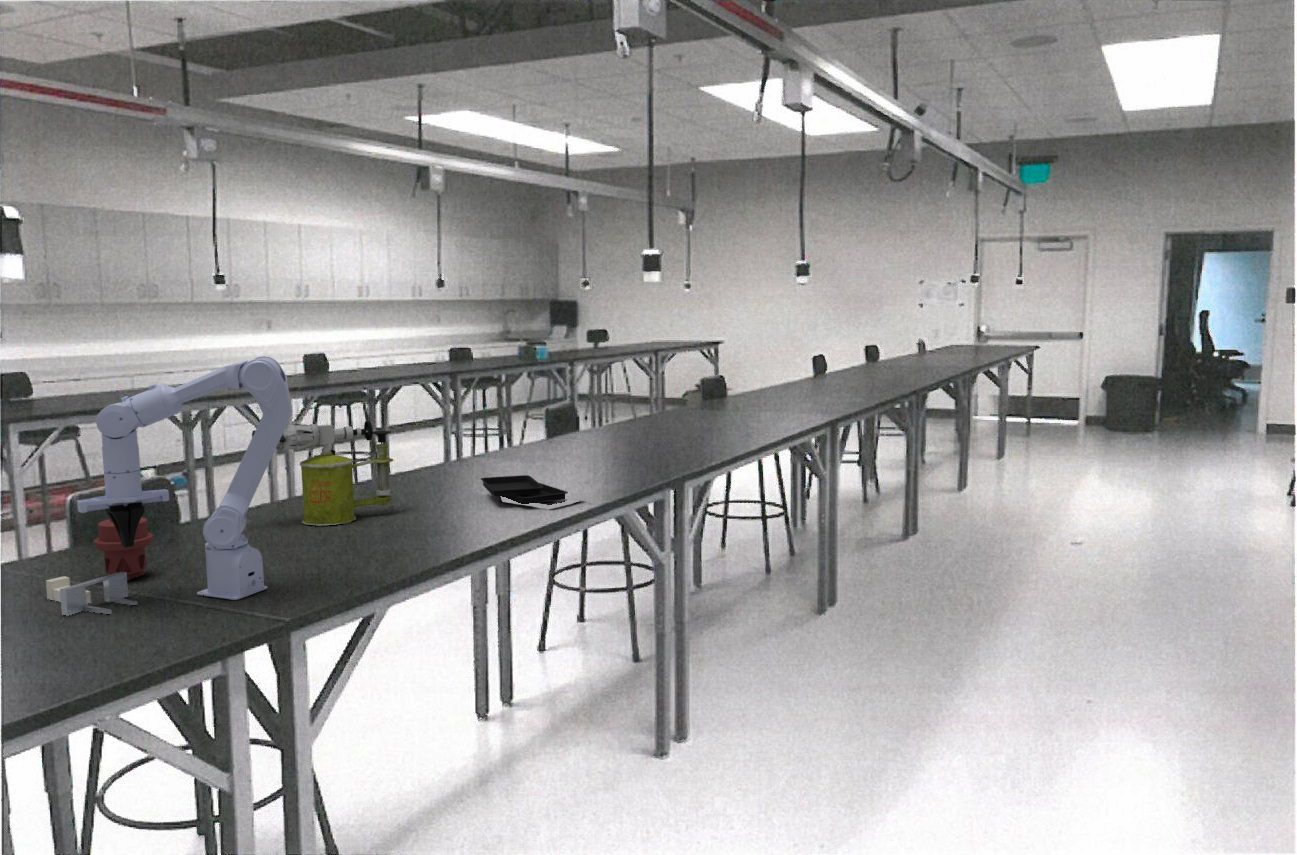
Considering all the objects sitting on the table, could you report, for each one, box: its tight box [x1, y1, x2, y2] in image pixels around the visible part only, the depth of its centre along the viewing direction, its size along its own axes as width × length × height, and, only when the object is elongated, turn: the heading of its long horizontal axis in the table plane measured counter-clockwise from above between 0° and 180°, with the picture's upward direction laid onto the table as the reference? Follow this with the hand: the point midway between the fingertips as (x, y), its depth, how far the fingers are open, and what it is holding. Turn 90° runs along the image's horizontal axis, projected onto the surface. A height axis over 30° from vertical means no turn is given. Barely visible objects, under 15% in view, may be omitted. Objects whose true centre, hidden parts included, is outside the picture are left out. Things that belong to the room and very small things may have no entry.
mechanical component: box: [93, 517, 154, 582], centre depth 190 cm, size 12×10×10 cm
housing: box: [60, 572, 138, 617], centre depth 172 cm, size 7×12×5 cm, turn 158°
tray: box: [480, 474, 569, 505], centre depth 262 cm, size 30×23×5 cm
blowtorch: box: [251, 420, 394, 526], centre depth 239 cm, size 13×33×25 cm, turn 122°
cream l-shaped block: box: [45, 575, 92, 605], centre depth 177 cm, size 10×3×4 cm, turn 58°
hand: (127, 545), depth 176 cm, fingers closed
